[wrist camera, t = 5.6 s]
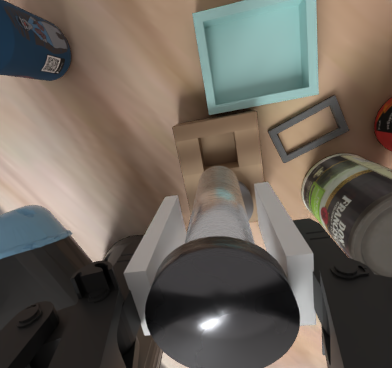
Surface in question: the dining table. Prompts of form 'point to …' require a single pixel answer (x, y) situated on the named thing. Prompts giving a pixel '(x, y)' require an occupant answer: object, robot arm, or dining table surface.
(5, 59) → the soda can
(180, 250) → the pin
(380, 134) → the canned food
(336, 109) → the gray rectangular frame
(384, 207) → the coffee can
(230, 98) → the tray
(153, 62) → the dining table surface
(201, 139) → the block
